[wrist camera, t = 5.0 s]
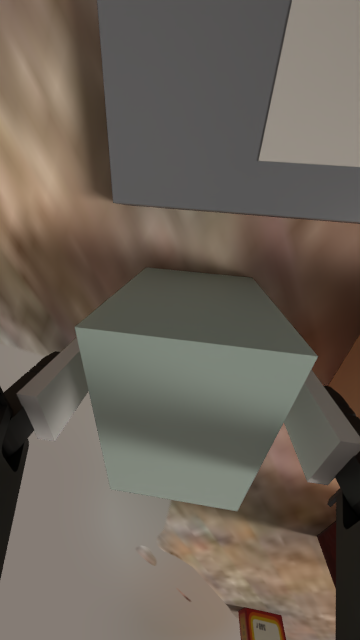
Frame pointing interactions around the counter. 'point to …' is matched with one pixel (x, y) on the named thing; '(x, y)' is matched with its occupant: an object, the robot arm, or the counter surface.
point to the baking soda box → (260, 625)
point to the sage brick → (190, 383)
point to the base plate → (234, 105)
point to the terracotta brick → (349, 378)
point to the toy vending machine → (329, 549)
